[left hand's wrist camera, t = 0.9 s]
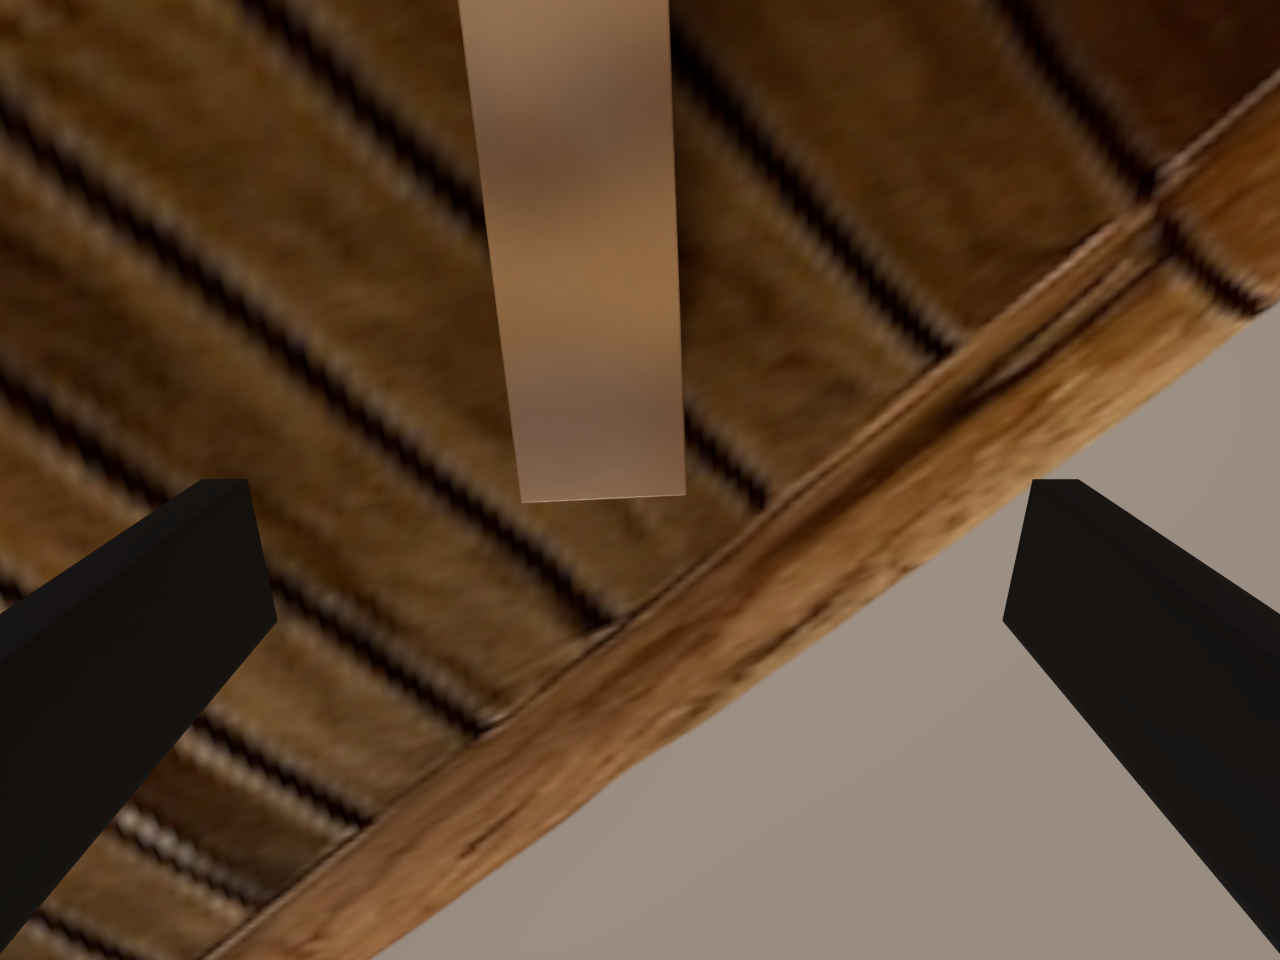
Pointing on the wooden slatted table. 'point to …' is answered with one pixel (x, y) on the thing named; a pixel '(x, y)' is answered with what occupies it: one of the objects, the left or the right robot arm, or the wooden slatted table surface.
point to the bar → (582, 239)
